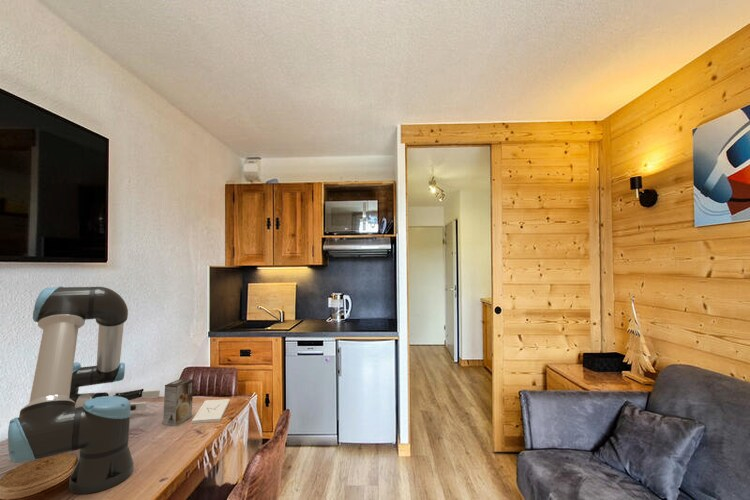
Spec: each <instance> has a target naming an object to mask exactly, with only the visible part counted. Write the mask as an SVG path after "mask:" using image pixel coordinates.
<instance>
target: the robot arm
mask: <svg viewBox="0 0 750 500" xmlns="http://www.w3.org/2000/svg"><path fill="white" fill-rule="evenodd" d="M128 316H129V309H128V306H127V303H126V302H125V300H124V299H123V297H122V296H121V295H120V294H119V293H118V292H116V291H115V290H114V289H113V290H112V289H111V288H108V287H106V286H105V287H104V286H56V287H55V286H53V287H51V286H50V287H45V288H44V289H42V290H41V291H40V292H39V294H38V296H37V298H36V300H35V303H34V307H33V311H32V320H33V322H35V323H37V327H39V328H40V329H41V330H42V334H41V340H40V344H39V350H38V355H37V360H36V364H35V365H36V366H35V370H34V376H33V381H32V386H31V392H30V395H29V396H30V398H29V402H28V404H26V405H25V406H23V407H22V408H21V409H20V411H19V415H18V416H17V417H16V416H15V417H14V418H12V419H10V420H9V425H8V430H7V449H8V450H7V451H8V456H9V457H8V458H9V459H10V461H11V462H12V463H14V464H20V463H25V462H32V461H33V462H35V461H36V460H39V459H40V460H41V459H43V458H49V457H51V456H52V457H53V456H57V455H61V454H64V453H69V452H70V453H71V452H73V451H77V450H79V457H78V459H77V462H76V463H75V464H76V465H75V466H74V468H73V471H72V474H71V475H70V477H69V483H68V484H69V485H68V490H69V491H70V492H71V493H73V494H77V495H78V494H79V495H83V494H84V495H86V494H93V493H97V492H102V491H105V490H107V489H110V488H113V487H114V486H117V485H119V484H120V483H122V482H124V481H126V480H127V479H128V478H129V477H130V476H131V475H132V473H133V472H134V459H133V456H132V453H131V449H130V448H129V436H130V421H131V418H130V417H132V412H134V411H135V412H136V411H146V410H147V402H146V401H145V402H132V403H131V402H130V401H132V400H136V399H140V398H141V399H146V398H147V399H151V398H160V394H161V393H160V392H161V390H159V389H157V390H144V388H141V389H136V390H135V389H134V390H131V391H130V390H129V391H125V392H116V393H114V394H115V395H109V393H108V392H106V391H105V392H86V393H85V392H84V393H79V390H80V389H79V388H81V387H89V386H96V385H102V384H111V383H116V382H121V381H123V380H124V378H125V371H126V363H125V362H121V355H122V345H123V336H124V335H123V334H124V325H125V324H124V323H126V322H127V320H128ZM86 320H95V322H96V324H97V325H98V330H97V331H98V336H97V351H96V352H97V356H96V365H92V366H91V365H89V366H81V362H75V356H76V348H77V342H78V341H77V340H78V336H79V335H78V334H79V329H80V328H82V327H83V326H85V323H86Z"/></svg>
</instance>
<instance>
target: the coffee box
mask: <svg viewBox="0 0 750 500" xmlns="http://www.w3.org/2000/svg"><path fill="white" fill-rule="evenodd" d="M193 396H194V379H189V378H178V379H177V380H174V381H172V382H169V383H167V384H165V385H164V399H163V416H162V417H163V418H162V424H163V425H165V426H173V427H176V426H178V425H180V424H182V423H183V422H185V421H186V420H188V419H190V418H192V414H193Z"/></svg>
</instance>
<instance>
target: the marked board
mask: <svg viewBox="0 0 750 500" xmlns="http://www.w3.org/2000/svg"><path fill="white" fill-rule="evenodd" d="M230 402H231V399H230V398H225V399H223V398H222V399H221V398H220V399H209V400H207V399H206V400H204V402H203V404H202V405H201V407H200V408H199V409H198V411H197V412H196V414H195V415H194V417H193V418H192V420H191V424H204V423H206V424H207V423H216V422H217V423H218V422H221V421H222V418H223V417H224V415H225V412H226V411H227V409H228V406H229V404H230Z"/></svg>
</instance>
